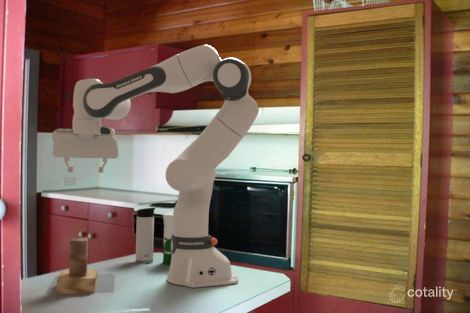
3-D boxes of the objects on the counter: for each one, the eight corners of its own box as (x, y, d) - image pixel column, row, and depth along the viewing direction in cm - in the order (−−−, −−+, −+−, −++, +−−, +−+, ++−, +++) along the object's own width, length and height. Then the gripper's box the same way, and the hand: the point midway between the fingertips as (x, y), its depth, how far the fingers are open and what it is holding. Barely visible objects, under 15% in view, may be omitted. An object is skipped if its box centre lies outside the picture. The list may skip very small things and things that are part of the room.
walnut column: (87, 272, 136) (88, 237, 136) (85, 276, 131) (86, 240, 131) (71, 272, 135) (71, 238, 135) (69, 276, 130) (69, 240, 130)
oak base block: (97, 282, 139) (97, 269, 139) (94, 292, 129) (95, 278, 129) (61, 284, 137) (62, 270, 137) (56, 294, 127) (56, 279, 127)
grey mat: (115, 275, 150) (115, 274, 150) (113, 294, 130) (113, 291, 130) (56, 277, 146) (56, 275, 146) (44, 296, 126) (44, 294, 126)
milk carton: (191, 261, 173) (192, 207, 173) (181, 266, 165) (182, 210, 165) (170, 259, 176) (171, 206, 176) (159, 264, 167) (160, 208, 167)
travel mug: (150, 264, 167) (151, 208, 167) (132, 263, 168) (134, 207, 168) (156, 260, 173) (157, 206, 173) (139, 259, 174) (141, 206, 174)
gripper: (50, 127, 144) (49, 172, 144) (118, 130, 149) (117, 173, 149) (54, 128, 150) (53, 171, 150) (119, 131, 155) (118, 172, 155)
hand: (85, 172), depth 150 cm, fingers open, 8 cm apart
